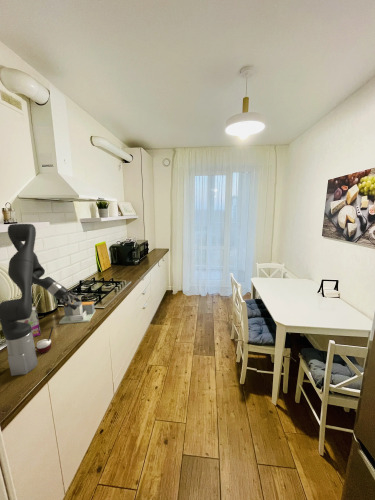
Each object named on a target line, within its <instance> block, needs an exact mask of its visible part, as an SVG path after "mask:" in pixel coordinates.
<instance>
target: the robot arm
mask: <svg viewBox="0 0 375 500" xmlns="http://www.w3.org/2000/svg"><path fill="white" fill-rule="evenodd" d="M7 235H8V238H9V240H10V242H11V243H12V245H13V246H14V248H15V250H16V253H14V254H13V255H12V257H10V260H9V263H8V271H7V274H8V276H9V278H10V279H11V281H12V282H13V283H14V284H15V285H16V286H17V287H18V289H19V290H20V292H21V298H15V299H10V300H4V301H1V302H0V327H1V329H2V334H3V335H4V339H5V344H6V348H7V354H8V356H7V361H8V367H9V369H10V375H11V376H12V377H13V376H23V375H28V373H30V372H32V371H33V369H35V368H36V367H37V365H38V363H39V362H38V357H37V352H36V351H37V350H36V348H35V347H36V345H35V340H34V337H33V334H32V328H31V325H30V324H28V323H22V322H18V321H19V320H24V319H28V318H29V317H30V316H31V313H32V307H33V293H32V291H33V290H32V289H33V288H32V285H33V284H35V285H37V286H40V287H41V288H42V289H44V290H46V292H48V293H49V294H50V295H52V296H53V297H55V298H56V299H57V300H59V303H60V304H61V305H62V306H63V307H64V306H65V307H66V308H67V307H71V308H72V309H74V310H75V309H76V308H77V307H76V306H75V305H73V304H72V303H73V302H72V301H75V302H81V301H82V300H81V299H80V298H79V295H78V294H77V293H75V292H74V291H72V290H70V291H69V289H67V288H66V287H65V286H63V285H62V284H61V283H59V282H58V281H56V280H55V279H53V278H52V277H50V276H46V277H44V278H41V277H43V276H44V275H45V269H44V267H43V266H42V265H41V263H40V262H39V259H38V256H37V254H36V252H34V251H35V245H36V244H35V243H36V235H37V229H36V226H35V225H34V224H32V223H12V224H9V225H8V227H7ZM23 242H24V243H23ZM68 291H69V292H68ZM69 303H70V304H69ZM65 304H67V305H65ZM35 350H36V351H35Z"/></svg>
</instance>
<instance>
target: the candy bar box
mask: <svg viewBox="0 0 375 500" xmlns="http://www.w3.org/2000/svg"><path fill="white" fill-rule="evenodd" d="M37 312H38V311H37V308H36V306H32V313H31V316H30V317H29V318H28V319H24V320H19V321H18V322H22V323H28V324H30V325H31V328H32V334H33V338H35V337H37V336H38V337H39V336H40V335H41V334H42V333H41V327H40V322H39V317H38V313H37Z"/></svg>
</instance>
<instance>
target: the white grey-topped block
mask: <svg viewBox="0 0 375 500" xmlns="http://www.w3.org/2000/svg"><path fill="white" fill-rule="evenodd" d="M82 302H83V301H82V300H81V302H76V301H74V302H72V303H73V305H75V306H76V307H77V308H76V309H75V310H74V309H72V311H73V316H76V315H82V314H83V308H82Z"/></svg>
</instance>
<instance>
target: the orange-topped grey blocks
mask: <svg viewBox="0 0 375 500" xmlns="http://www.w3.org/2000/svg"><path fill="white" fill-rule="evenodd" d="M71 303H72V304H73V303H74V302H71ZM69 304H70V303H69ZM65 305H67V304H65ZM82 308H83V314H82V315H76V316H73V311H72V308H71V307H67V308H66V307H65V306H64V305H63V312H64V316H63V317H62V318H61V319H60V321H59V322H58V323H59V324H60V325H61V324H76V323H77V324H78V323H87V322H90V321H91V319H92V317H93V316H94V314H95V313H96V312H97V311H96V309H95V301H82Z"/></svg>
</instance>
